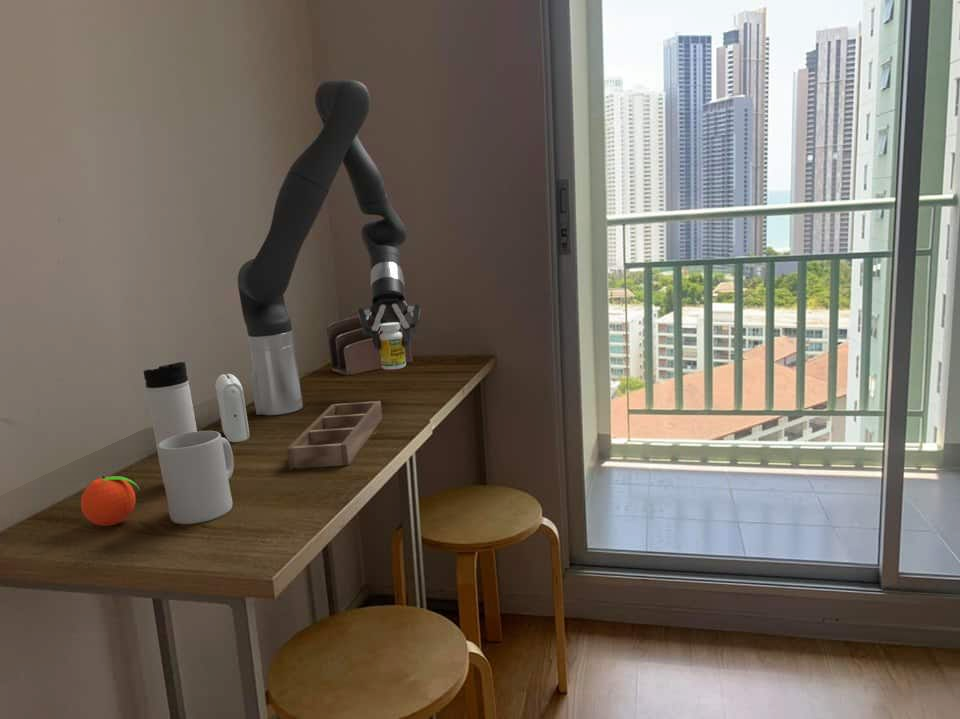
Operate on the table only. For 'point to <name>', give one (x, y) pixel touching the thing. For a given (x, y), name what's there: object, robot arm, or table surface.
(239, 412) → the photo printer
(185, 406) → the travel mug
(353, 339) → the letter holder
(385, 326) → the supplement bottle
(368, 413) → the compartment tray
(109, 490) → the clementine
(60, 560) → the table surface
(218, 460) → the mug
